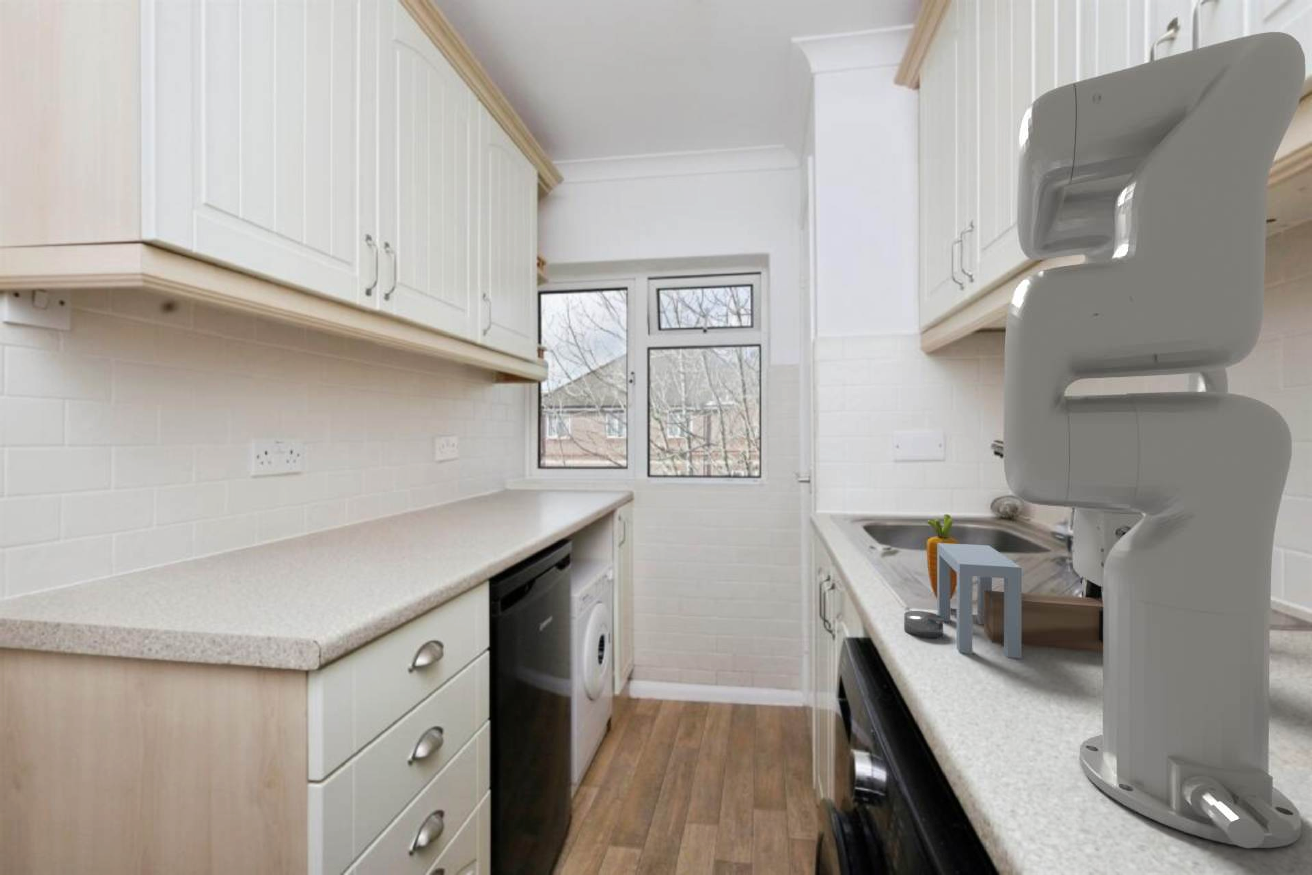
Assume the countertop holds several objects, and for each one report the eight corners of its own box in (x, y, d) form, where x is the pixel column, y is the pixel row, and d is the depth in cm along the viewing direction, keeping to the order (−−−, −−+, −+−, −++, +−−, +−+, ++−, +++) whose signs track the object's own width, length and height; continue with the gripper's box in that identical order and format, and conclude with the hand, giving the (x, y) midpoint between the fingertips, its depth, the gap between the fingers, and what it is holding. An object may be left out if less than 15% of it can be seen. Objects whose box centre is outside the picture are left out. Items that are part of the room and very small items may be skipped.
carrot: (939, 612, 88) (939, 517, 87) (919, 603, 92) (919, 513, 92) (967, 610, 88) (968, 516, 88) (946, 601, 93) (946, 512, 93)
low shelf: (1021, 658, 70) (1021, 567, 70) (959, 652, 72) (959, 563, 72) (988, 621, 83) (988, 545, 83) (937, 617, 85) (937, 542, 85)
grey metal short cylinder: (945, 641, 76) (945, 624, 76) (905, 637, 78) (905, 620, 78) (940, 629, 81) (940, 612, 81) (902, 625, 82) (902, 609, 82)
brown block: (1153, 657, 70) (1153, 610, 70) (992, 642, 75) (992, 598, 75) (1135, 645, 74) (1136, 600, 74) (984, 632, 79) (984, 590, 79)
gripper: (1181, 508, 64) (1180, 665, 64) (1108, 492, 80) (1107, 618, 80) (1104, 505, 66) (1103, 658, 66) (1048, 490, 82) (1047, 613, 82)
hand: (1105, 635), depth 73 cm, fingers closed on brown block, 4 cm apart
